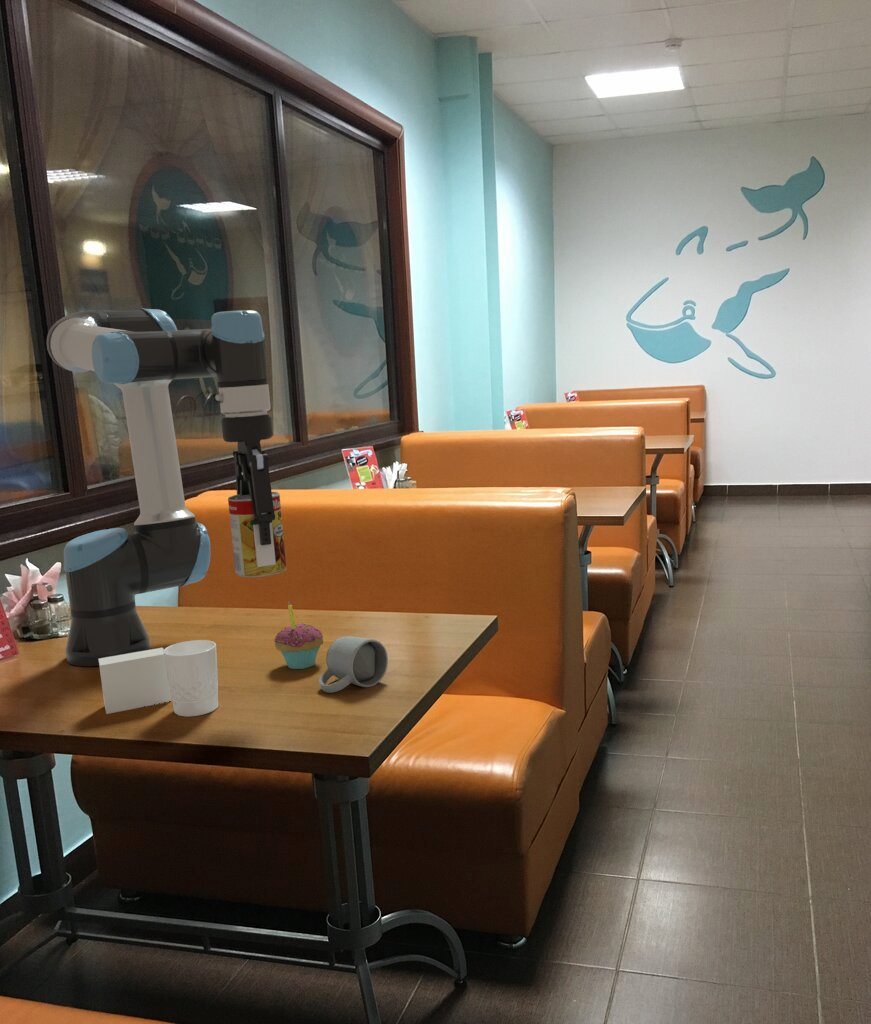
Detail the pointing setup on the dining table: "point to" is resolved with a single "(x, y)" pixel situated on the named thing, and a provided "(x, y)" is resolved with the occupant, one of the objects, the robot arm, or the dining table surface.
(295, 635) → the cupcake
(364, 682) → the ceramic mug
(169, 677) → the white cup
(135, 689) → the off-white rectangular block
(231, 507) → the canned food
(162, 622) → the dining table surface
